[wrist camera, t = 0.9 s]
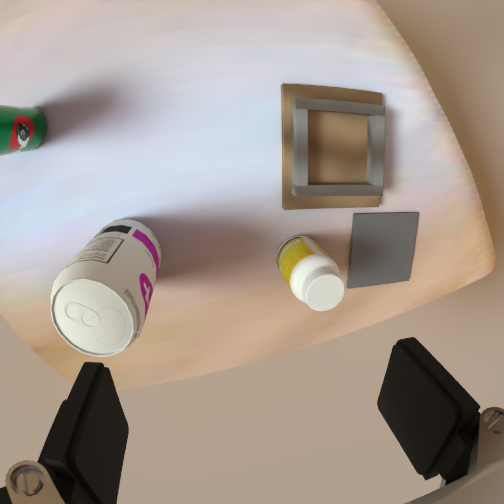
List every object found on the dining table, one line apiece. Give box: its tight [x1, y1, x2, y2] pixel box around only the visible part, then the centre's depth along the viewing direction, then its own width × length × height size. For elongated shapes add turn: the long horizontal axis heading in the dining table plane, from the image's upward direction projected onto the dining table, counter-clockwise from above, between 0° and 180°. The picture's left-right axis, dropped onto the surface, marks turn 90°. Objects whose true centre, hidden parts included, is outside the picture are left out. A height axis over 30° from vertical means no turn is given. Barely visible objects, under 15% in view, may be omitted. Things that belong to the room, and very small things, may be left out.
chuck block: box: [281, 84, 385, 210], centre depth 33 cm, size 14×12×3 cm
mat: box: [347, 212, 418, 289], centre depth 40 cm, size 10×10×1 cm
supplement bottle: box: [277, 235, 345, 311], centre depth 34 cm, size 5×5×10 cm
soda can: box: [0, 105, 47, 155], centre depth 23 cm, size 5×5×12 cm
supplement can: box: [50, 219, 162, 357], centre depth 29 cm, size 8×8×15 cm
